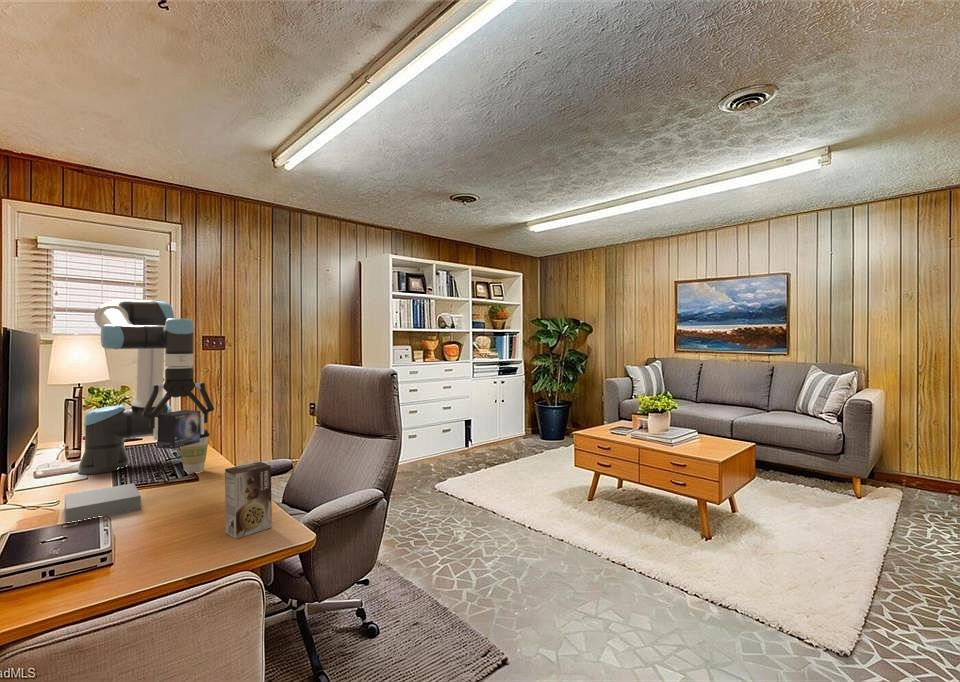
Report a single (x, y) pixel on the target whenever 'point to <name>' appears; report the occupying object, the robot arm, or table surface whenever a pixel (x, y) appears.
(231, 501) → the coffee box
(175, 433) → the small box
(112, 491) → the plinth
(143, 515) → the table surface
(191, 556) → the table surface
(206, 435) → the coffee cup
